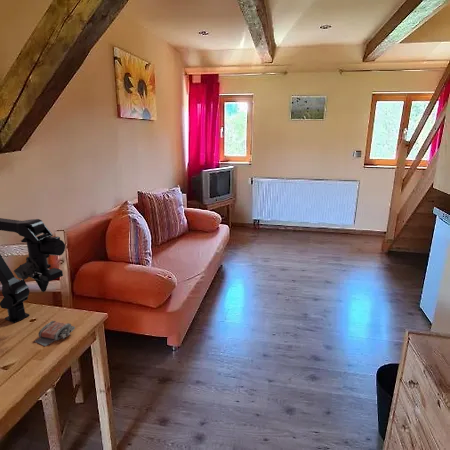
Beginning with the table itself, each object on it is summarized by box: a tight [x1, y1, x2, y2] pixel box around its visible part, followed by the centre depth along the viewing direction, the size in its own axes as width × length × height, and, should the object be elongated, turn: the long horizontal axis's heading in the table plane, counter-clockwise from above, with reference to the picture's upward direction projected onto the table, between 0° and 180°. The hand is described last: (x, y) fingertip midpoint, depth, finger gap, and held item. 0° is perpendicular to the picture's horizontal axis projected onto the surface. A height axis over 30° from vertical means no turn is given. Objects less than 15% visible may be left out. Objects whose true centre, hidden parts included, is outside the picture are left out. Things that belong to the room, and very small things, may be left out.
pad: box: [34, 337, 57, 347], centre depth 124 cm, size 6×10×1 cm, turn 151°
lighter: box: [37, 320, 76, 341], centre depth 125 cm, size 8×3×10 cm
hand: (43, 291), depth 131 cm, fingers closed
